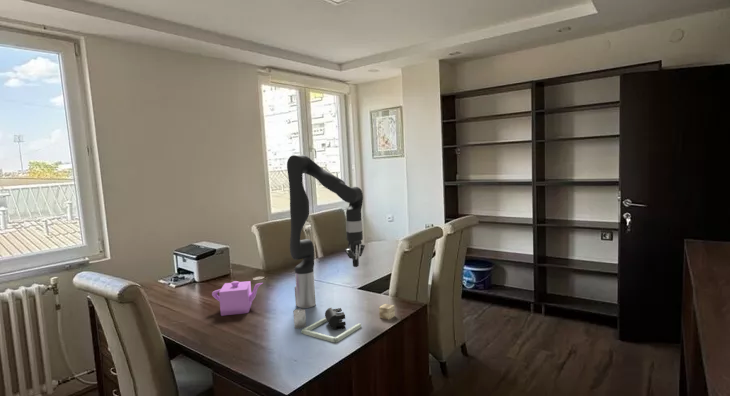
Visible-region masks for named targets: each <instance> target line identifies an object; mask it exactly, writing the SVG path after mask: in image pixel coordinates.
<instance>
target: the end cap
mask: <svg viewBox="0 0 730 396" xmlns="http://www.w3.org/2000/svg"><path fill="white" fill-rule="evenodd" d="M342 311H343V310H342V308H341V307H340V308H339V307H338V308H332V307H329V308H327V309H326V311H325V313H324V318H325V317H326V319H327V323H328V325H329V327H330V328H331V329H333V330H334V331H339V330H344V329H346V314H345V312H344V311H343V312H342ZM343 320H345V321H343Z"/></svg>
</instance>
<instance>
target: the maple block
mask: <svg viewBox="0 0 730 396" xmlns="http://www.w3.org/2000/svg"><path fill="white" fill-rule="evenodd" d="M378 312H379V319H383V320H391V319H392V318H394V317H395V314H396V313H395V304H389V303H384V304H382V305H381V306H379V307H378Z"/></svg>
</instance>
